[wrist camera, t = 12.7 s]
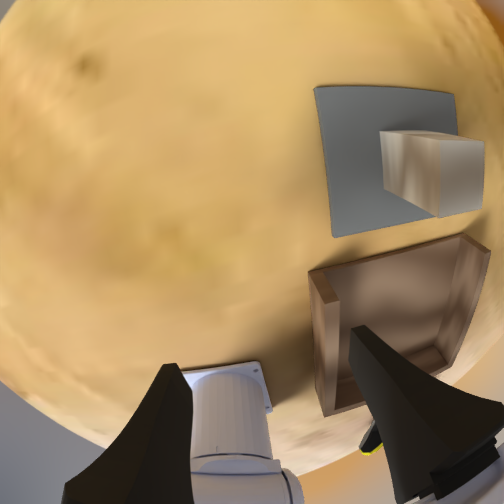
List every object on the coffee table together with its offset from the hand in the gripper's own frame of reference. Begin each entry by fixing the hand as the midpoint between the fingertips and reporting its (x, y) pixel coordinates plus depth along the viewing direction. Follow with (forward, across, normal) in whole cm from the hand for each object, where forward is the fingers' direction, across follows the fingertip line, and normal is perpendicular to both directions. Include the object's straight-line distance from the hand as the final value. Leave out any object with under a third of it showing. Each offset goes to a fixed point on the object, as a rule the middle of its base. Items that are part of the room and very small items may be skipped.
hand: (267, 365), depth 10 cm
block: (+9, -12, -5) cm, 16 cm away
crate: (+9, -12, +9) cm, 18 cm away
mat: (+9, -12, -6) cm, 16 cm away
